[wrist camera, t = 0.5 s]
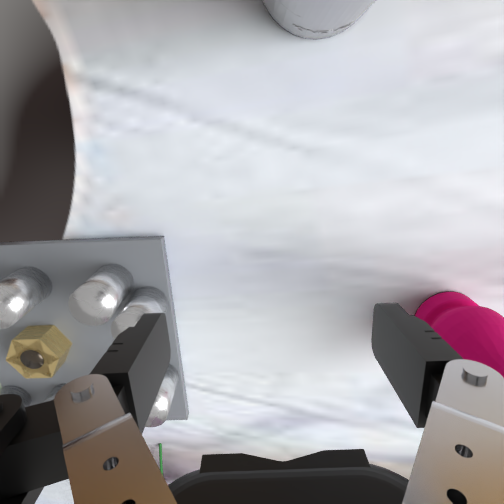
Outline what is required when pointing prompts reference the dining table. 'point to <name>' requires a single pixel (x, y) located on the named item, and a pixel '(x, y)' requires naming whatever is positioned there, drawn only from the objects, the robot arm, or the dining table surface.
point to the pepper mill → (466, 327)
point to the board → (57, 313)
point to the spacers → (89, 316)
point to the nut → (38, 351)
